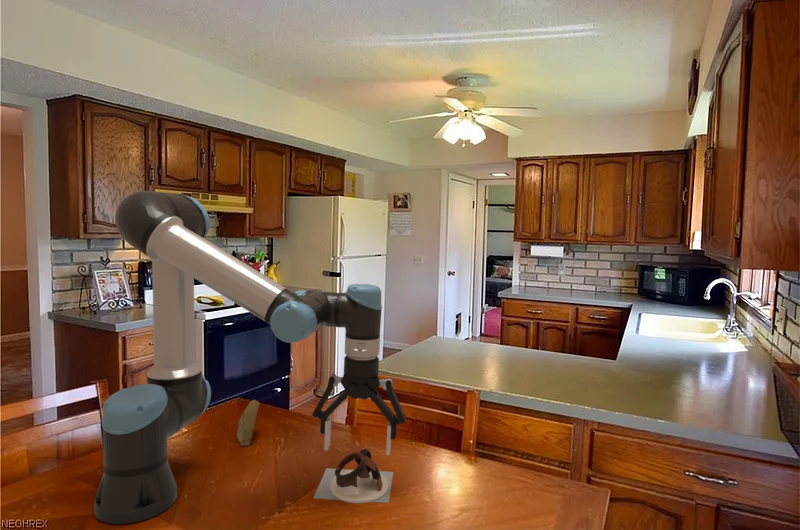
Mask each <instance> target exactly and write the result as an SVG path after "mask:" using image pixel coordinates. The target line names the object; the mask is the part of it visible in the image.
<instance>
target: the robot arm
mask: <svg viewBox="0 0 800 530" xmlns="http://www.w3.org/2000/svg"><path fill="white" fill-rule="evenodd" d="M114 215H115V216H114V220H115V221H114V222H115V226H116V227H115V228H116V230H117V232H118V233H119V235H120V237H122V239H123V240H124V241H125V242H126V243H127V244H129V245H130V246H131V247H133V248H134V249H136V250H137V251H139V252H140V253H142V254H144V255H145V256H146V257H148V259H150V261H151V263H152V267H151V269H152V270H151V271H152V273H151V274H152V309H153V310H152V320H153V321H152V323H153V324H152V327H153V366H152V367H151V368H150V369H149V370H148V371H147V373H146V383H142V384H136V385H133V386H131V387H126V388H122V389H119V390H118V391H116V392H114V393H113V394H111V395H110V396H109V397H108V398H107V399H106V401H104V404H103V406H102V416H101V420H100V421H101V430H102V458H103V461H102V463H103V475H102V477H101V480H100V483H99V486H98V488H97V489H98V490H97V492H96V495H95V498H94V501H93V502H94V504H93V505H94V506H93V507H94V509H93V510H94V511H93V512H94V516H95V517H94V518H96V519H97V520H98V521H100V522H102V523H105V524H110V525H126V524H134V523H138V522H142V521H145V520H149V519H151V518H155V517H156V516H158V515H160V514H162V513H163V512H165V511H166V510H168V509H169V508H170V507H171V506H173V505H174V503H175V502H176V500H177V498H178V485H177V482H176V479H175V476H174V475H173V471H172V469H171V466H170V464H169V462H168V461H169V460H168V439H170V438H172V436H175V434H177V433H178V432H180V431H181V430H182V429H184V428H185V427H187V426H188V425H191V424H192V423H195V421H197V420H198V419H199V418H200V417H201V416H202V415H203V414H204V413H205V411H206V410H207V409H208V406H209V404H210V402H211V397H212V389H211V385H210V382H209V381H208V380H206V376H204V374H203V369H202V368H203V367H201V365H200V364H198V363H197V362H196V360H195V357H196V355H195V353H196V351H195V347H196V345H195V280H197V281H198V282H200V283H201V284H203V285H205V286H207V287H208V288H210V289H211V290H212V291H215V292H216V293H218V294H220V295H221V296H223V297H224V298H226V299H227V300H229V301H231V302H232V303H234V304H236V305H238V306H239V307H241V308H242V309H244V310H246V311H248V312H249V313H250V314H252V315H253V316H256V317H257V318H259V319H261V320H262V321H264V322H266V323H267V324H269V325H270V329H271V331H272V332H273V334H274V335H275V337H276V338H277V339H279V341H281V342H283V343H288V344H291V343H298V342H300V341H303V340H305V339H307V338H309V337H310V336H312V334H313V333H314V332H316V331H318V330H320V329H322V328H323V327H331V328H332V327H334V328H343V329H345V337H344V339H345V340H344V354H345V356H344V359H343V375H342V376H338V375H337V374H336V373H332V374H331V375H330V377H329V378H328V382H327V383H328V384H327V386H326V389H325V390H324V393H323V394H322V396H321V398H320V400H318V403H317V405H316V407H315V408H314V411H313V412H312V414H311V415H312V417H313V418H317V419H319V420H320V427H319V430H320V431H319V432H320V435H324V442H323V443H324V444H323V445H324V447H323V449H324V451H329V449H330V447H331V434H332V433H331V431H332V429H331V428H332V427H331V426H332V416H331V414H332V413H333V412H335V410H336V409H337V408H338V407H339V406H340V405H341V404H342V403H343V402H344V401H345V400H346V399H348V397H350V398H352V399H361V400H367V399H370V401H372V403H374V404H375V405H376V407H377V409H379V411H380V412H381V413H382V415H383V416H384V417H385V419H386V420H387V421H388V423H387V428H386V429H387V430H386V449H385V455H386V456H390V454H391V447H392V440H396V438H397V431H398V425H399V424H401V425H402V424H405V422H406V414H405V412H404V409H403V407H402V405H401V402H400V401H399V399H398V396H397V395H396V391H395V390H394V386H393V385H394V384H393V378H391V377H388V378H387V379H380V377H379V370H380V369H379V365H380V357H378V356H379V355H380V348H381V347H380V345H381V323H382V309H383V306H382V289H381V288H380V287H379V286H377V285H376V284H375V285H374V284H370V283H369V284H368V283H367V284H366V283H362V284H361V283H353V284H349V285H348V286H347V288H346V291H345V292H335V291H333V292H332V291H323V290H321V291H320V290H313V289H307V290H306V289H302V290H299V289H298V290H296V291H294V292H293V291H291V290H289V289H288V288H287V287H285V286H284V285H282V284H280V283H279V282H277V281H276V280H274V279H272V278H270V277H268V276H267V275H266V274H263V273H262V272H260V271H259V270H257V269H255V268H253V267H252V266H250V265H249V264H247V263H246V262H244V261H242V260H240V259H239V258H237V257H235V256H234V255H232V254H231V253H229V252H227V251H226V250H224V249H222V248H221V247H219V246H217V245H215V244H213V243H212V242H211V241H209V240H207V239H205V237H206V236H207V235H208V233H209V229H210V217H209V214H208V211H207V210H206V208H205V207H204V205H203V204H202V203H201V202H200V201H199V200H198V199H196V198H194V197H192V196H189V195H185V194H183V193H172V192H171V193H170V192H160V191H154V190H153V191H152V190H140V191H136V192H133V193H130V194H129V195H127V196H125V197H124V198H123V199H122V200H121V201H120V203H119V204H118V206H117V208H116V210H115V214H114ZM194 279H195V280H194ZM339 384H341V385H342V386H343V388H344V389H343V391H342V392H341V393H340V394H339V395H338V396H337V397H336V398H335V400H333V402H332V403H330V405H329V406H328V407H326V409H325V410H322V409H323V407H324V406H325V403H326V401H328V398H329V397H330V395H331V393H332V391H333V390H334V387H338V385H339ZM380 386H381V387H382V389H383V390H384V391H385V392H386V395H387V397H388V399H389V401H390V404H391V406H392V409H393V410H392V409H391V408H390V407H389V406H388V404H387V402H386V401H385V400H384V399H383V398H382V396H381V395H380V393H379V391H378V390H377V389H379V388H380ZM393 411H394V412H393Z"/></svg>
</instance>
